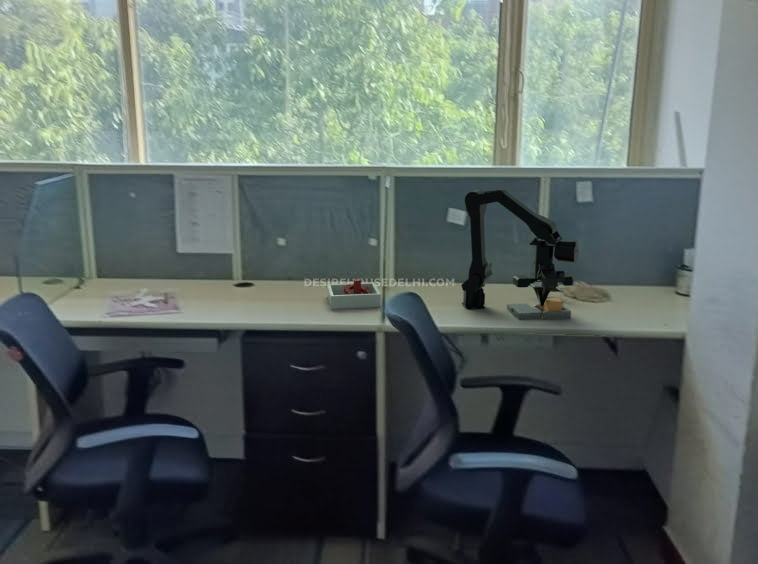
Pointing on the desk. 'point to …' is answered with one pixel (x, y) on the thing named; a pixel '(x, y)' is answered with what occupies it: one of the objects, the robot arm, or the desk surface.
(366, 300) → the gear corral
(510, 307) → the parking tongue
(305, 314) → the desk surface
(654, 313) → the desk surface
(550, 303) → the block
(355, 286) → the red branched piece
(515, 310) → the sliding lid box
